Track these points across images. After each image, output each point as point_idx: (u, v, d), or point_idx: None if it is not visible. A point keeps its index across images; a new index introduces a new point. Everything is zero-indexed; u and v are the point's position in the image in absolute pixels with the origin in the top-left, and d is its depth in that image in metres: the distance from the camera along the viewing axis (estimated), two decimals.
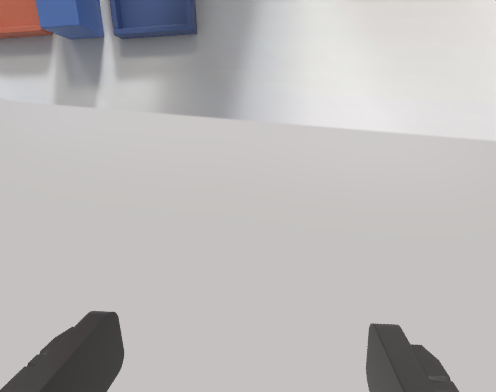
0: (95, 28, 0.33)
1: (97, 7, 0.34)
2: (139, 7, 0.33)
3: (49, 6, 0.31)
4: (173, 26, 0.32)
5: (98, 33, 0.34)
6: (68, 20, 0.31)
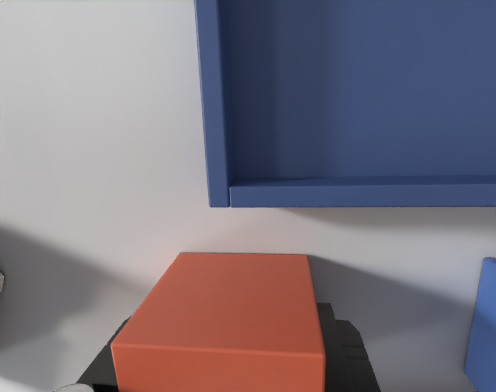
0: None
1: None
2: None
3: None
4: None
5: None
6: None
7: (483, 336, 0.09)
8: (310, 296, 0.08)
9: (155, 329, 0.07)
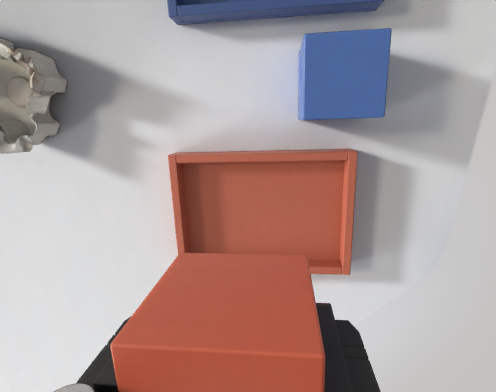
0: None
1: None
2: None
3: (350, 90, 0.16)
4: None
5: None
6: (380, 52, 0.16)
7: (299, 88, 0.20)
8: (310, 296, 0.08)
9: (155, 330, 0.07)
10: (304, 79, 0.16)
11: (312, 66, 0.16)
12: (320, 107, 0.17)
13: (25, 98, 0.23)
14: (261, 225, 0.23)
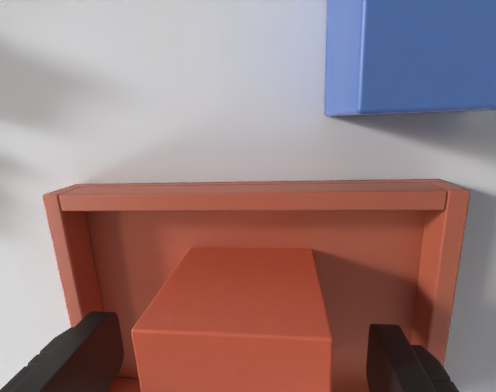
0: None
1: None
2: None
3: None
4: None
5: None
6: None
7: (328, 43, 0.09)
8: (317, 287, 0.08)
9: (172, 317, 0.07)
10: None
11: None
12: (416, 73, 0.05)
13: None
14: None
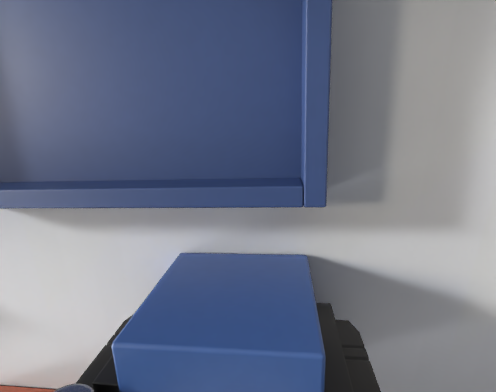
0: (297, 279, 0.08)
1: (218, 259, 0.10)
2: (220, 105, 0.09)
3: None
4: None
5: (307, 270, 0.09)
6: None
7: None
8: None
9: None
10: None
11: None
12: None
13: None
14: None
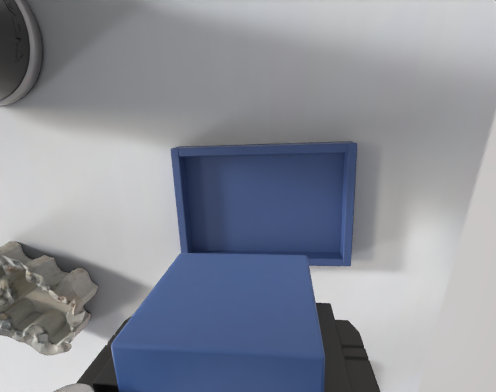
0: (297, 279, 0.08)
1: (217, 259, 0.10)
2: (310, 226, 0.23)
3: None
4: (349, 174, 0.20)
5: (307, 271, 0.09)
6: None
7: None
8: None
9: None
10: None
11: None
12: None
13: None
14: None
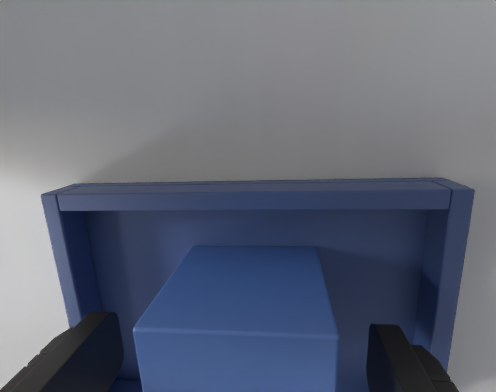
0: (308, 269, 0.09)
1: (229, 251, 0.10)
2: (345, 348, 0.11)
3: None
4: (448, 261, 0.09)
5: (317, 261, 0.09)
6: (313, 382, 0.06)
7: None
8: None
9: None
10: None
11: (160, 390, 0.07)
12: None
13: None
14: None
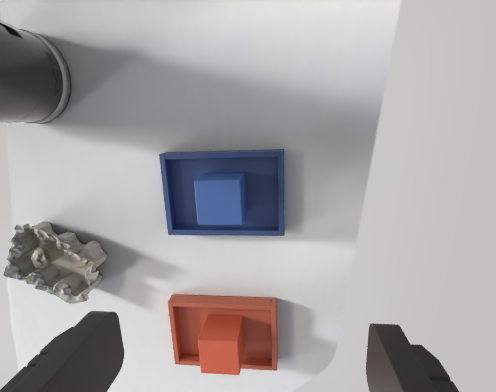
0: (239, 174, 0.30)
1: (217, 173, 0.32)
2: (257, 208, 0.33)
3: (221, 210, 0.29)
4: (279, 172, 0.30)
5: (243, 173, 0.31)
6: (235, 191, 0.28)
7: None
8: (239, 329, 0.34)
9: (205, 337, 0.33)
10: (196, 203, 0.29)
11: (200, 197, 0.28)
12: (206, 218, 0.29)
13: (82, 263, 0.37)
14: None
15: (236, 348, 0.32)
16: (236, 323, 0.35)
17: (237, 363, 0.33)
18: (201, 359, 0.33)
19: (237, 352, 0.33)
